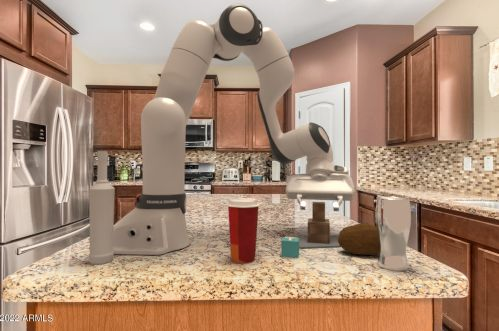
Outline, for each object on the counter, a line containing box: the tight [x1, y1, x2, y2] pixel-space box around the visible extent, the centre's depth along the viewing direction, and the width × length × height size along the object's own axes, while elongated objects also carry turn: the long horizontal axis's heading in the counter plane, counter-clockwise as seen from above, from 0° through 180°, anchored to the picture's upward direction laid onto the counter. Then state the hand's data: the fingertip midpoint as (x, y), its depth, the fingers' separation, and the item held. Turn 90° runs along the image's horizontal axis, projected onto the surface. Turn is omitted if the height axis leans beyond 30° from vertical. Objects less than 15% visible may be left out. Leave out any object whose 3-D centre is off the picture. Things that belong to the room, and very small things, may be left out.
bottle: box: [88, 150, 116, 265], centre depth 66 cm, size 5×5×25 cm
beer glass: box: [375, 195, 412, 272], centre depth 64 cm, size 7×7×15 cm
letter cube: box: [280, 236, 300, 259], centre depth 72 cm, size 4×4×4 cm
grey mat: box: [287, 234, 342, 250], centre depth 85 cm, size 16×12×1 cm
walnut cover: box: [307, 201, 331, 244], centre depth 85 cm, size 6×6×11 cm
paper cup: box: [226, 197, 261, 264], centre depth 68 cm, size 8×8×14 cm
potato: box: [337, 222, 380, 256], centre depth 73 cm, size 8×12×8 cm, turn 84°
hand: (319, 209), depth 84 cm, fingers open, 8 cm apart
